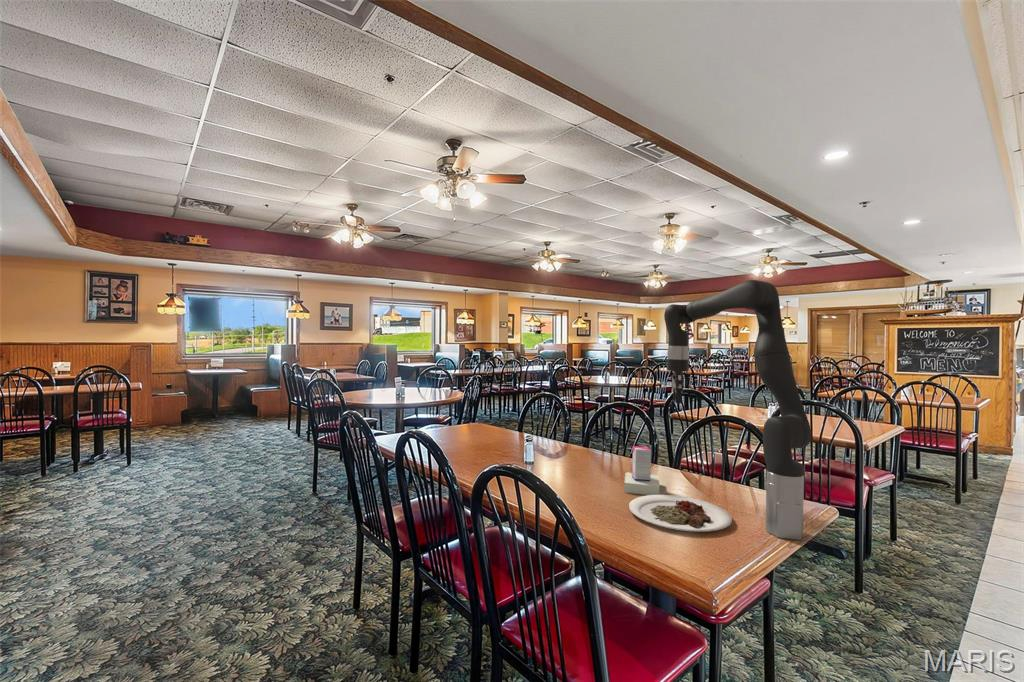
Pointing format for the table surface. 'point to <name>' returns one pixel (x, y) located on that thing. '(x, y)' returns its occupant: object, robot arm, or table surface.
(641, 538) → the table surface
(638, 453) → the supplement box
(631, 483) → the sage block
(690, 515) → the plated food
